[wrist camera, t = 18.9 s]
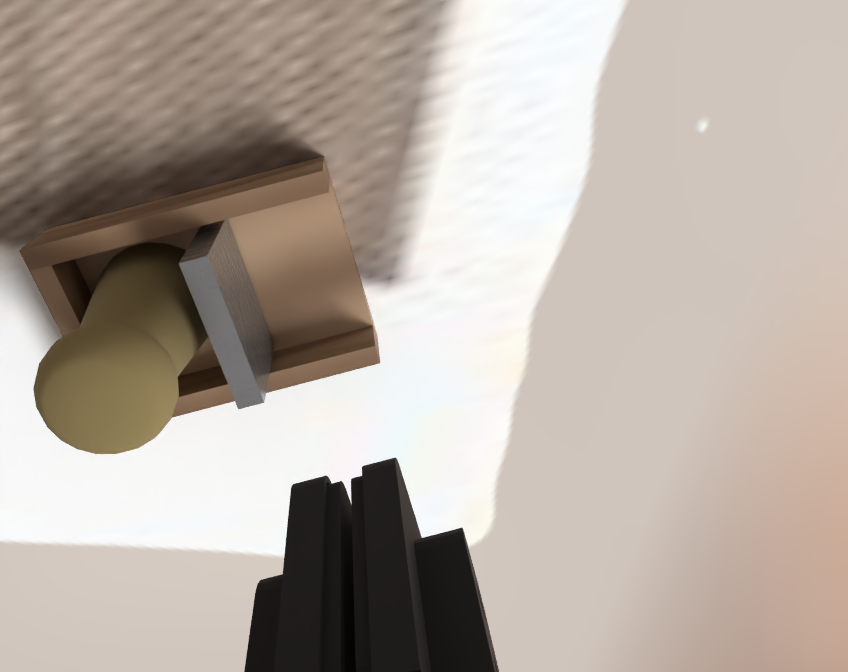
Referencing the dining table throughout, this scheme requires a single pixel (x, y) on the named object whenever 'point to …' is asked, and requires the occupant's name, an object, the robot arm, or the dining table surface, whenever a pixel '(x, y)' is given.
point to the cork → (123, 355)
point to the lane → (265, 262)
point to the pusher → (229, 311)
